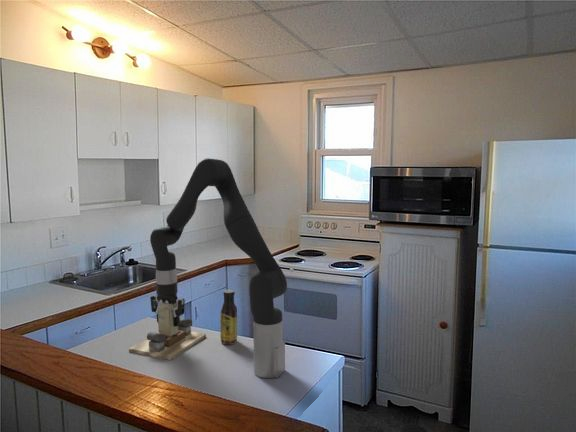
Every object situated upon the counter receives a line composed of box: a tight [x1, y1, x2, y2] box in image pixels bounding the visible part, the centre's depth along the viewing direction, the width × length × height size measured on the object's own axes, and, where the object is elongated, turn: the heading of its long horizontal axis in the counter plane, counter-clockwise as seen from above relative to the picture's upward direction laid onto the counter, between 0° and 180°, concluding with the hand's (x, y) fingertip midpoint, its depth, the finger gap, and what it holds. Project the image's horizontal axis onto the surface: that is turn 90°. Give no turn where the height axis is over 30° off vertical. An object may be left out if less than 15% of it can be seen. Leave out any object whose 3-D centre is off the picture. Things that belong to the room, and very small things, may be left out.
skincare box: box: [157, 301, 178, 336], centre depth 166 cm, size 6×4×12 cm
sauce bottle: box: [219, 289, 238, 346], centre depth 168 cm, size 6×6×20 cm
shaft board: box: [128, 317, 207, 361], centre depth 167 cm, size 18×22×7 cm
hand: (168, 324), depth 167 cm, fingers closed on skincare box, 6 cm apart
